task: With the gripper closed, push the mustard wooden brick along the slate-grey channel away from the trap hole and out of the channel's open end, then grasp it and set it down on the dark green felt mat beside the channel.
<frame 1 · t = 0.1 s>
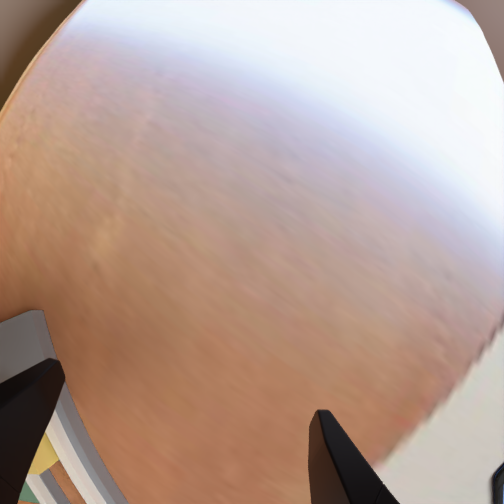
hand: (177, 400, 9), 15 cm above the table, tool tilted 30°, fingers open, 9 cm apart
channel deck: (48, 433, 21), on the table
felt mat: (14, 471, 19), on the table
brick: (31, 425, 19), point 2 cm above the table, touching channel deck
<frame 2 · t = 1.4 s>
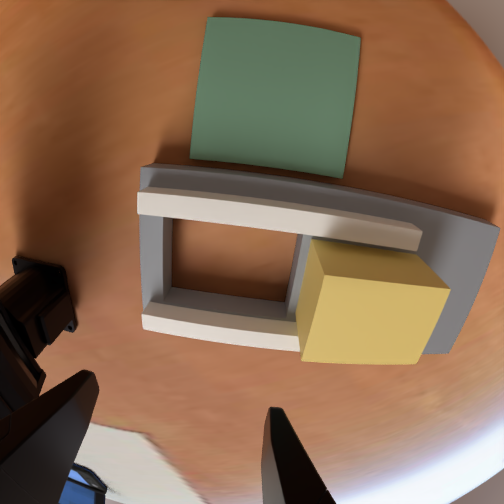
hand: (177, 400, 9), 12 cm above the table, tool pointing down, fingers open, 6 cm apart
channel deck: (329, 267, 20), on the table
handheld game console: (73, 470, 41), on the table
felt mat: (276, 92, 16), on the table
brick: (357, 284, 18), point 2 cm above the table, touching channel deck
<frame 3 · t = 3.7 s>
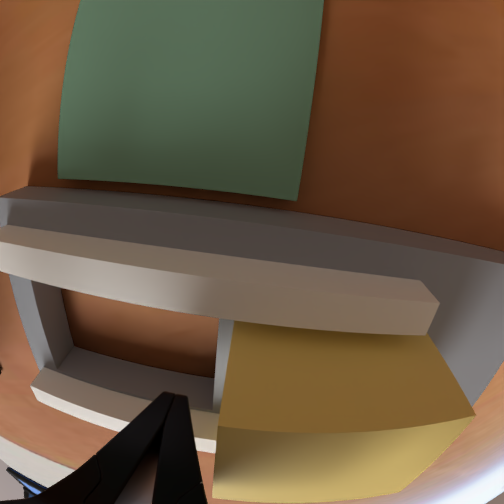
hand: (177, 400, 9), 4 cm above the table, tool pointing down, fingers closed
channel deck: (280, 339, 12), on the table
handheld game console: (47, 492, 33), on the table
felt mat: (180, 57, 8), on the table
brick: (321, 374, 11), point 2 cm above the table, touching gripper
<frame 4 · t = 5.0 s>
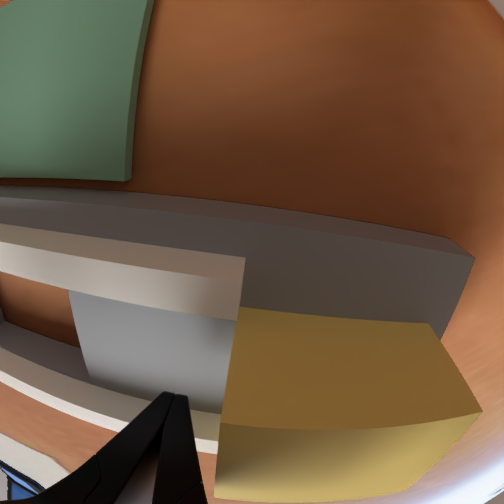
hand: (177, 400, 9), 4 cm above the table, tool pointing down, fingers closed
channel deck: (146, 318, 12), on the table
handheld game console: (28, 480, 34), on the table
felt mat: (49, 71, 8), on the table
brick: (325, 371, 10), point 2 cm above the table, touching channel deck, gripper
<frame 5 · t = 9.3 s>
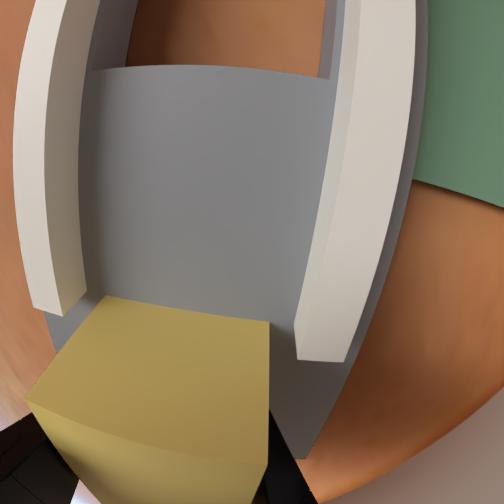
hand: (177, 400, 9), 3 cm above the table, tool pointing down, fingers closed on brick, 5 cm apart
channel deck: (204, 158, 9), on the table
brick: (183, 388, 10), point 2 cm above the table, touching channel deck, gripper
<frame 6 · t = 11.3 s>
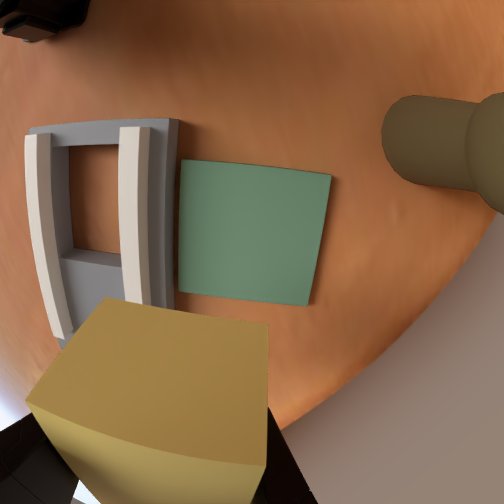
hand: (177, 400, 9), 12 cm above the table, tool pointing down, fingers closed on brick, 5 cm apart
channel deck: (108, 282, 22), on the table
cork: (420, 139, 17), on the table
felt mat: (249, 234, 19), on the table
brick: (183, 389, 10), point 11 cm above the table, touching gripper
when the fingers open (3 cm above the table, at t = 13.7 s): brick drops 1 cm, resting on felt mat.
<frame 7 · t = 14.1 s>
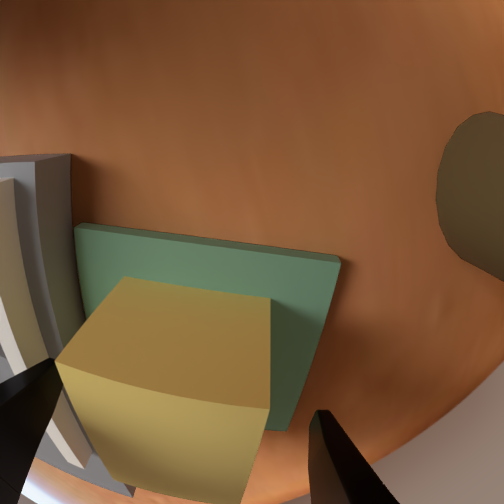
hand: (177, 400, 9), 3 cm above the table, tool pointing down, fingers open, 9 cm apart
channel deck: (30, 366, 13), on the table
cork: (492, 189, 9), on the table
felt mat: (195, 344, 11), on the table
brick: (192, 364, 11), point 1 cm above the table, touching felt mat
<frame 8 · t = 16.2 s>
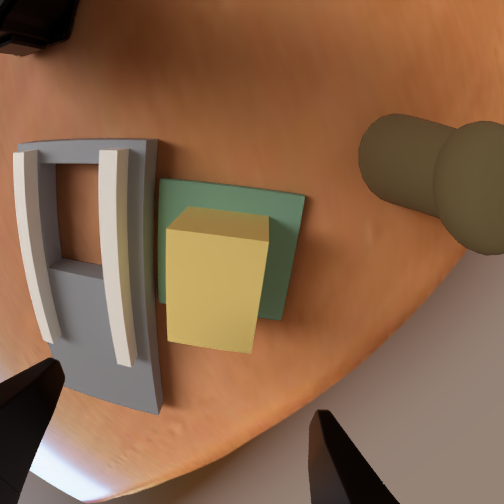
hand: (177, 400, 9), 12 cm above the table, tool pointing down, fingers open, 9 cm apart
channel deck: (94, 290, 22), on the table
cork: (399, 158, 17), on the table
felt mat: (224, 251, 20), on the table
brick: (223, 262, 20), point 1 cm above the table, touching felt mat
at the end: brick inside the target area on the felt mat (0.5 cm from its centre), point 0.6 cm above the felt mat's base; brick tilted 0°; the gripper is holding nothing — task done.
